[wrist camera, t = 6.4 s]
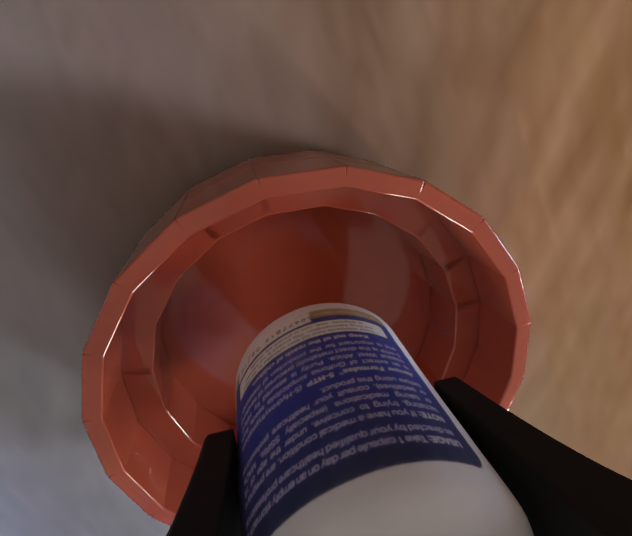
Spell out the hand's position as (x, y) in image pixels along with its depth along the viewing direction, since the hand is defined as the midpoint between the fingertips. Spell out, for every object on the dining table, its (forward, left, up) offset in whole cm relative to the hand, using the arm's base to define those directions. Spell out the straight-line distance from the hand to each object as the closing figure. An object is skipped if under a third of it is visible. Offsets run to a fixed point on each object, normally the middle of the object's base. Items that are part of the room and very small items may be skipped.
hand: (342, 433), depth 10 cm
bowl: (0, 0, -6) cm, 6 cm away
